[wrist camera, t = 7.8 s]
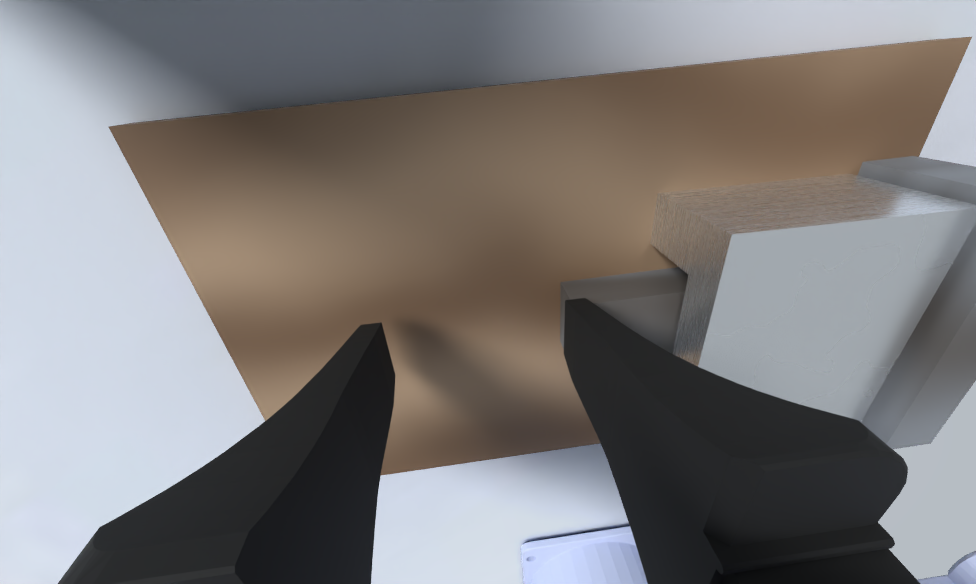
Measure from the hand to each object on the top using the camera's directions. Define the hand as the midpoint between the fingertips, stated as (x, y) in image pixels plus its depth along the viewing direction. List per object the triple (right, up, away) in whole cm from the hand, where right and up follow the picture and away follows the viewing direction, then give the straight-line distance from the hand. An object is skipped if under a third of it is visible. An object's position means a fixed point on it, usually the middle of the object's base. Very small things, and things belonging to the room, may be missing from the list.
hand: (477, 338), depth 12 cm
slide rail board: (+3, +1, +2) cm, 4 cm away
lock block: (+9, +2, +2) cm, 9 cm away
